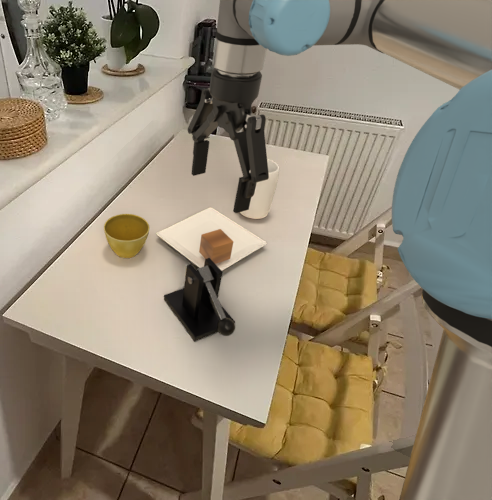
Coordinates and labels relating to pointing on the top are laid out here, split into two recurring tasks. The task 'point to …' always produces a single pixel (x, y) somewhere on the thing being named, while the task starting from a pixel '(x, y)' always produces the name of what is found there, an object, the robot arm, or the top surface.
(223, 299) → the top surface
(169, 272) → the top surface
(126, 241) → the yellow bowl
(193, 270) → the black lever base
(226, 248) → the brown wooden cube
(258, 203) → the cup
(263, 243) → the plate
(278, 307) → the top surface
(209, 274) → the lever
